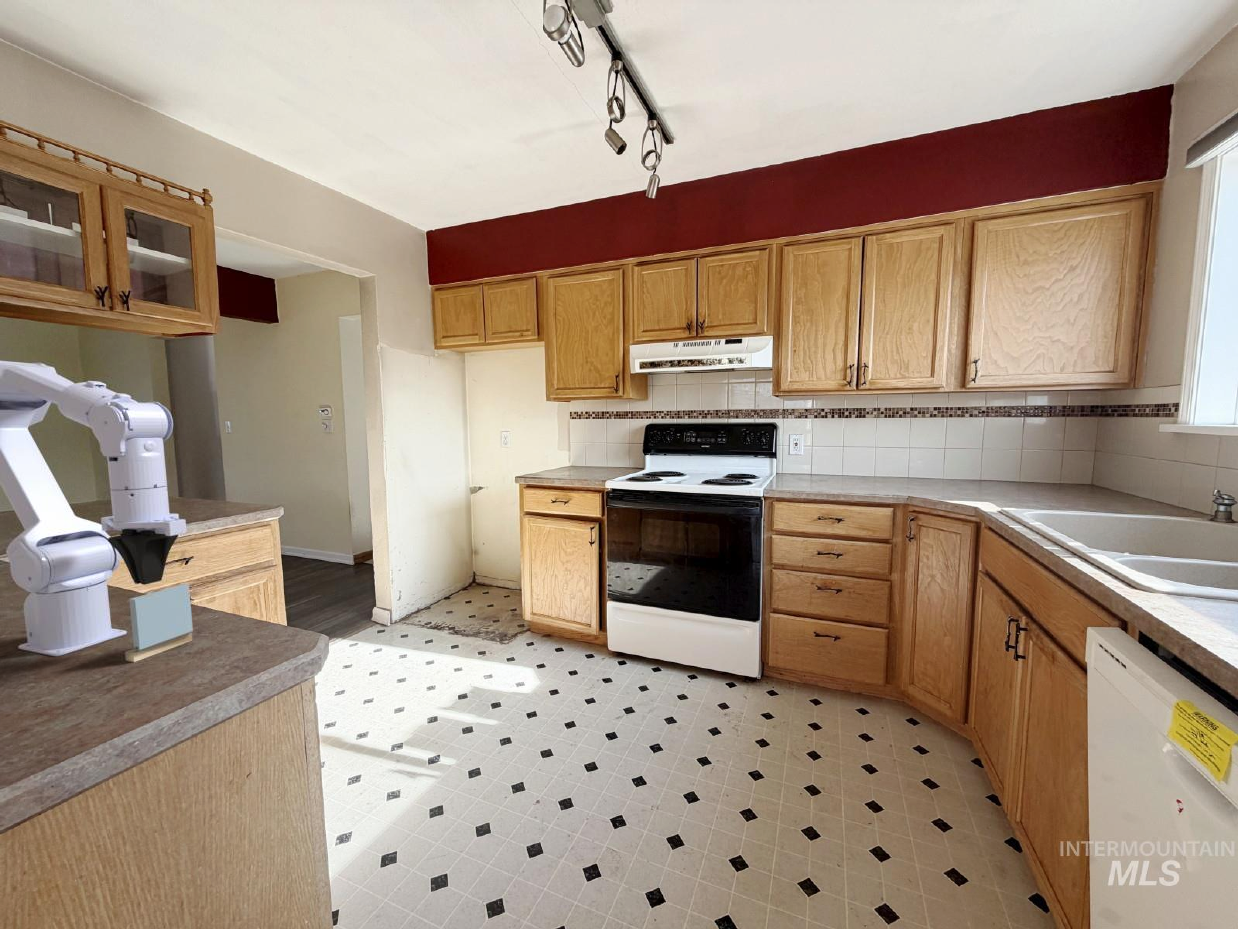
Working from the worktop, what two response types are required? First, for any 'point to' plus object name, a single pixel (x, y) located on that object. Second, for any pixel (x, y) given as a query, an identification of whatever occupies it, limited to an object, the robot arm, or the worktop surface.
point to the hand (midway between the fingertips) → (148, 582)
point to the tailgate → (160, 616)
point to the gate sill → (157, 648)
